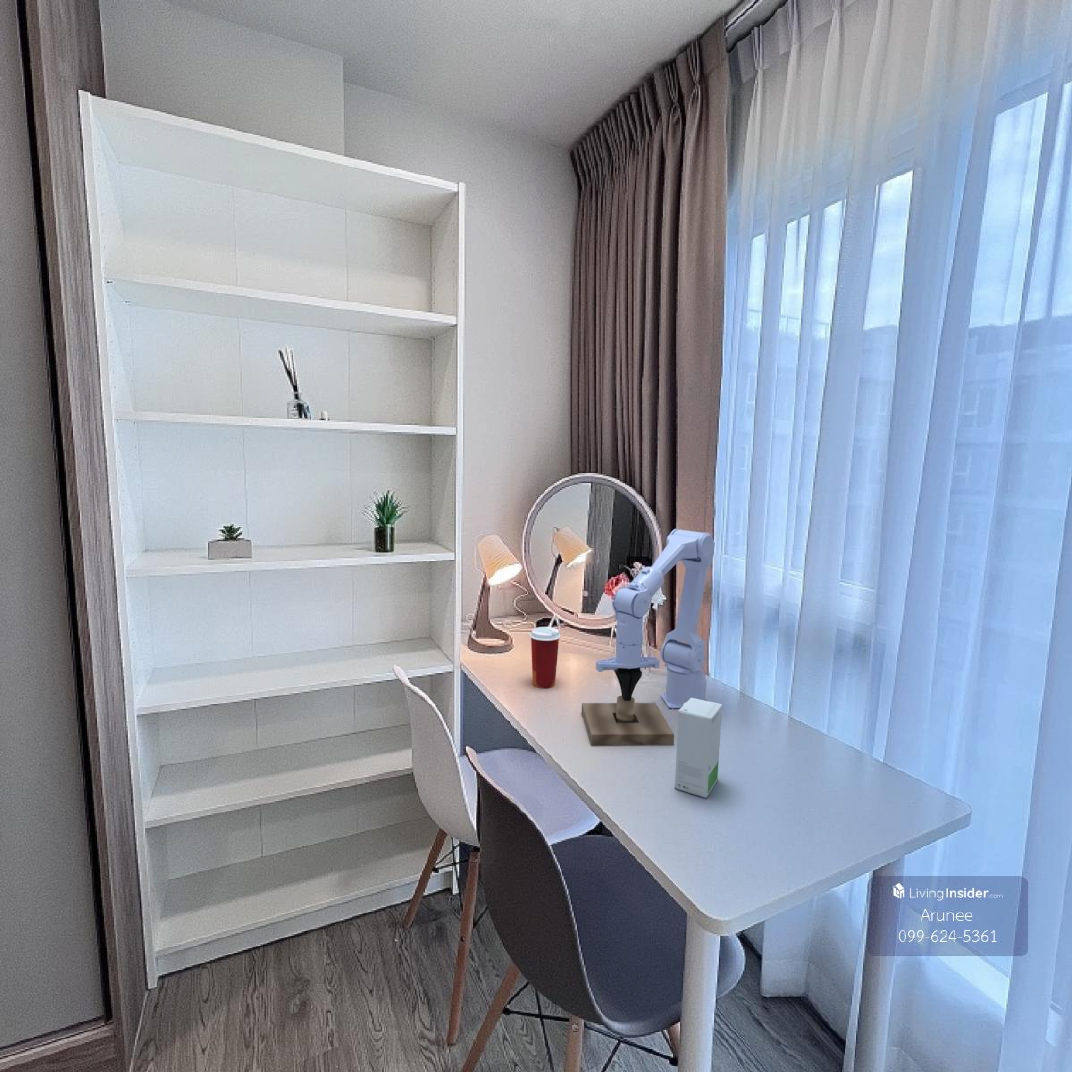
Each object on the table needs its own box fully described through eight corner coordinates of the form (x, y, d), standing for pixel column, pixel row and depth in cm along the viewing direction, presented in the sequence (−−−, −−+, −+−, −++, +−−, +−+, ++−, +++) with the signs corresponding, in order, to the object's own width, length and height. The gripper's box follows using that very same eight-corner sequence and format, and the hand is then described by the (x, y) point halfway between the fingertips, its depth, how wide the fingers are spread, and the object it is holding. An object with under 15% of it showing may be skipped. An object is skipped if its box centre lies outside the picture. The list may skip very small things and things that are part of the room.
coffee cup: (565, 684, 161) (566, 630, 159) (544, 692, 155) (546, 637, 153) (542, 675, 166) (543, 624, 164) (522, 683, 160) (523, 630, 158)
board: (654, 712, 144) (655, 702, 144) (673, 744, 129) (674, 734, 128) (581, 712, 143) (581, 703, 143) (591, 745, 127) (591, 734, 127)
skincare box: (706, 799, 108) (712, 719, 106) (671, 788, 112) (676, 710, 110) (718, 778, 116) (724, 703, 113) (685, 768, 119) (690, 695, 117)
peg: (629, 723, 138) (630, 694, 138) (636, 731, 134) (637, 702, 134) (612, 724, 138) (614, 695, 137) (619, 732, 134) (620, 703, 133)
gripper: (651, 634, 138) (648, 689, 140) (592, 637, 135) (590, 694, 137) (664, 644, 132) (661, 702, 134) (602, 647, 128) (600, 706, 130)
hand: (626, 699), depth 135 cm, fingers closed
